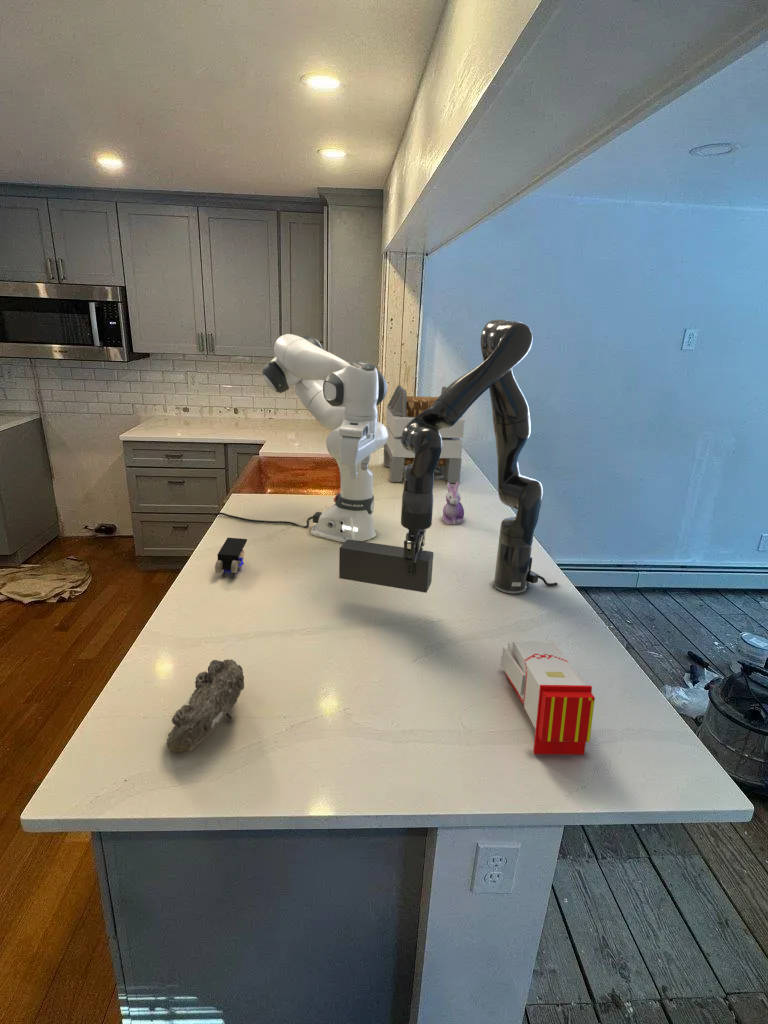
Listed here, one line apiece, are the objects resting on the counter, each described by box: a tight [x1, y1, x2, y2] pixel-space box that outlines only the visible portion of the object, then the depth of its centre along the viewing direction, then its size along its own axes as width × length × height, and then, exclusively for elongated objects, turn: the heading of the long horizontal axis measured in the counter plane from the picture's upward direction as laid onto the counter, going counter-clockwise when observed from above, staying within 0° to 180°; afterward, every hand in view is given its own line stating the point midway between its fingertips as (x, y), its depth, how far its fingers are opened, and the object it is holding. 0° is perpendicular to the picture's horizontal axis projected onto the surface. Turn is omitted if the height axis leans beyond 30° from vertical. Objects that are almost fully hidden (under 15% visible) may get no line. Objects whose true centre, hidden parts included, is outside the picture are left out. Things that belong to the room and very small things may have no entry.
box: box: [338, 539, 434, 594], centre depth 144 cm, size 23×6×9 cm, turn 74°
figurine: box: [441, 482, 465, 525], centre depth 212 cm, size 9×10×15 cm
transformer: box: [383, 384, 465, 484], centre depth 268 cm, size 34×33×41 cm
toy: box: [500, 640, 596, 756], centre depth 114 cm, size 12×13×30 cm
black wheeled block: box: [214, 537, 248, 578], centre depth 166 cm, size 7×8×15 cm
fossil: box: [166, 658, 245, 754], centre depth 106 cm, size 22×10×15 cm
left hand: (359, 474), depth 156 cm, fingers open, 8 cm apart
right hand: (413, 569), depth 142 cm, fingers closed on box, 6 cm apart
